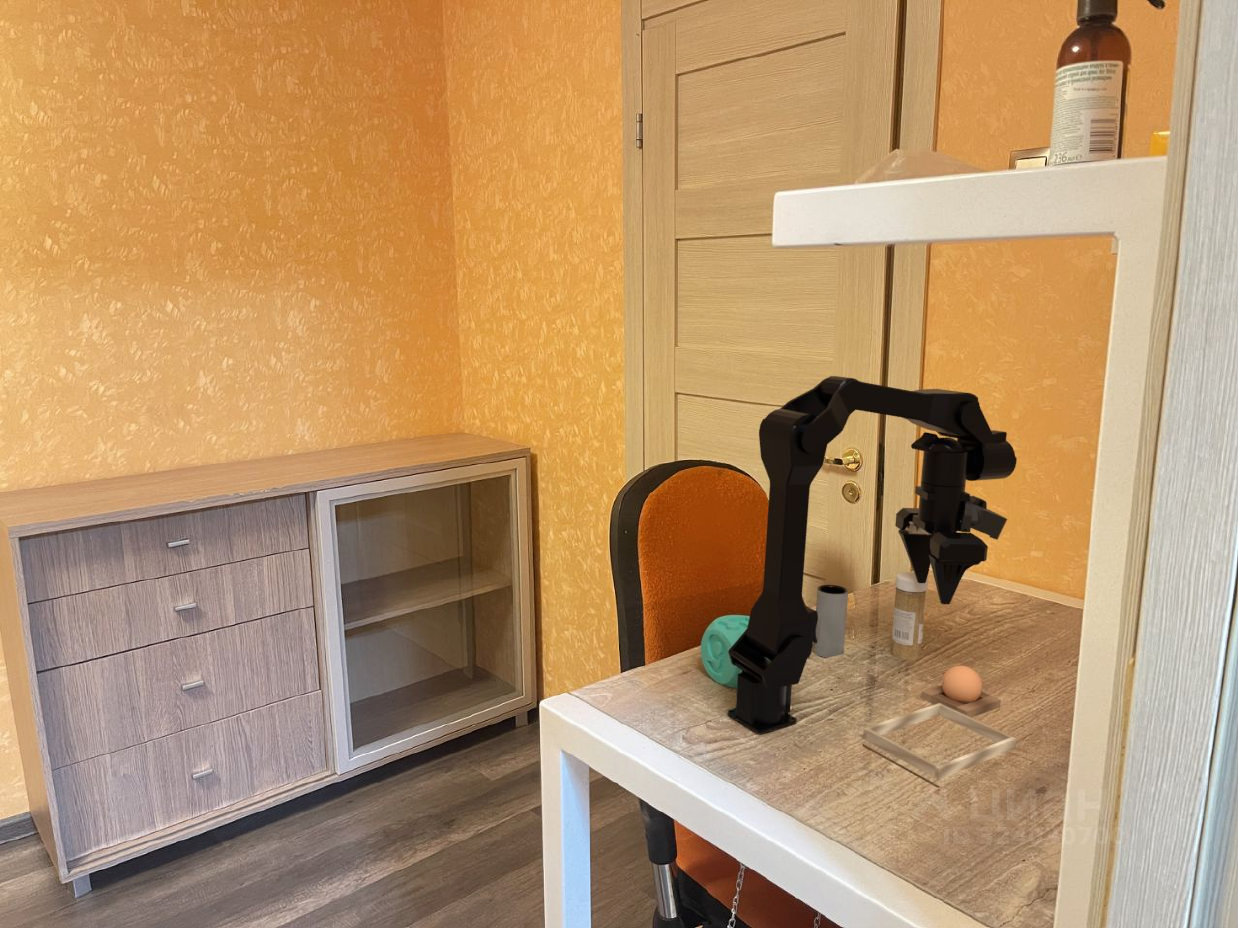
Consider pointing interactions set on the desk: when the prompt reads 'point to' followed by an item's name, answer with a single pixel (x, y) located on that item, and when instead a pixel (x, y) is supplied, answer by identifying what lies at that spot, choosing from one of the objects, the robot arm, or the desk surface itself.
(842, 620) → the grey hollow cylinder
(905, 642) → the sprinkles bottle
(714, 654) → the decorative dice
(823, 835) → the desk surface
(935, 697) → the brown flat square frame
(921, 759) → the tray
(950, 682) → the ball
